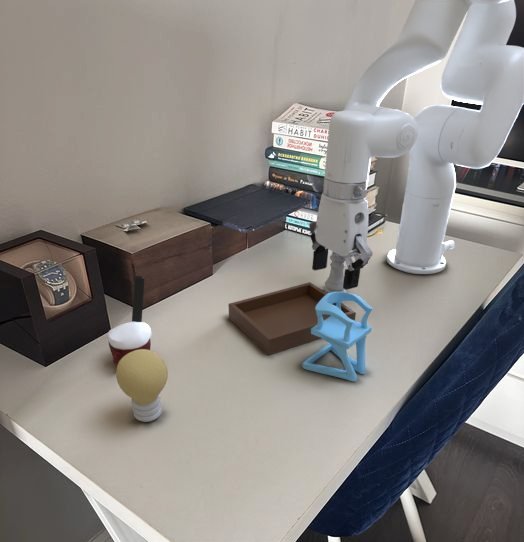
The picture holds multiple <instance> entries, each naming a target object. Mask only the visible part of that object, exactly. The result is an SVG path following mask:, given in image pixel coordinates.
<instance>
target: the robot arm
mask: <svg viewBox="0 0 524 542" xmlns="http://www.w3.org/2000/svg"><path fill="white" fill-rule="evenodd" d="M516 18H517V7H516V3H515V0H414V1H413V5H412V7H411V9H410V11H409V13H408V16H407V17H406V20H405V23H404V24H403V27H402V29H401V31H400V33H399V35H398V36H397V38H396V39H395V40H394V41H393V42H391V44H389V45H388V46H387V47H386V48H385V49H383V50H382V51H381V52H380V53H379V54H378V55H377V56H376V57H375V58H374V59H373V60H372V62H370V63H369V64H368V66H367V67H366V68H365V69H364V70H363V71H362V72H361V74H360V75H359V77H358V78H357V79H356V82H355V84H354V85H353V87H352V90H351V92H350V94H349V96H348V98H347V101H346V103H345V105H344V108H343V110H339V111H336V112H334V113H333V114H332V115H331V117H330V119H329V126H328V127H329V128H328V135H327V145H326V146H327V147H326V155H325V157H326V158H325V167H324V177H323V186H322V187H323V189H322V193H321V196H320V201H319V205H318V211H317V216H316V221H312V222H309V224H308V226H309V232H310V240H311V244H312V245H311V248H312V250H313V256H312V264H311V265H312V266H311V268H312V269H311V270H313V271H314V272H315V271H319V270H324V269H326V268H327V267H328V259H329V258H328V257H329V251H331V252H334V253H336V254H338V255H340V256H342V257H344V258H345V265H346V267H347V268H345V269H344V282H343V289H345V290H346V291H348V290H351V289H355V288H357V287H358V286H359V281H360V276H361V275H360V274H361V269H364V267H365V266H367V264H368V263H369V261H370V259H371V258H372V257H373V253H374V252H373V250H372V249H371V248H370V246H369V245H368V243H367V242H368V233H369V201H368V200H367V199H366V197H367V196H368V193H369V191H368V190H367V189H368V182H369V175H370V168H371V161H372V158H384V159H385V158H388V159H395V158H399V157H402V156H404V155H405V154H407V153H408V152H409V163H408V172H407V179H406V185H405V192H404V197H403V198H404V199H403V203H402V209H401V215H400V220H399V226H398V231H397V232H398V233H397V239H396V245H395V249H392V250H389V252H388V253H387V255H386V262H387V263H388V264H389V265H390V266H391V267H392V268H394V269H396V270H397V271H401V272H405V273H408V274H415V275H434V274H437V273H440V272H443V271H444V270H445V269H446V266H447V259H446V258H445V257H444V256H443V255H444V253H445V252H446V251H451V250H454V249H455V247H456V243H455V241H454V240H448V241H445V242H444V240H445V236H446V232H447V227H448V226H447V225H448V222H449V217H450V214H451V208H452V203H453V199H454V196H455V191H456V186H457V184H456V183H457V177H456V171H455V167H454V165H455V166H459V167H464V168H469V169H472V170H473V169H474V170H480V169H484V168H486V167H489V166H490V165H491V163H493V162H494V160H495V159H496V158H497V157H498V155H499V154H500V152H501V150H502V148H503V147H504V144H505V143H506V141H507V138H508V136H509V134H510V132H511V130H512V128H513V127H514V123H515V122H516V119H517V118H518V116H519V113H520V111H521V109H522V107H523V105H524V47H522V46H519V45H511V44H510V45H508V44H507V43H508V41H509V40H510V36H511V33H512V31H513V29H514V26H515V23H516ZM461 25H462V27H461ZM460 27H461V29H460ZM459 29H460V31H459ZM458 32H459V33H458ZM457 34H458V35H457ZM456 36H457V38H456V40H455V37H456ZM454 40H455V43H454ZM453 43H454V45H453V47H452V49H451V52H450V55H449V57H448V59H447V61H446V64H445V66H444V69H443V71H442V75H441V78H440V90H441V92H442V94H443V95H444V96H445V97H446V98H448V99H450V100H454V101H456V102H462V103H468V104H475V105H481V107H480V109H479V110H477V109H471V108H466V107H462V106H461V107H460V106H453V105H449V104H448V105H446V104H433V105H432V104H431V105H429V106H426V107H424V108H422V109H421V110H420V111H419V112H418V113H417V114H416V115H415V116H414V117H413V115H411V114H410V113H408V112H406V111H403V110H400V109H394V108H389V107H386V106H380V104H381V102H382V101H383V99H384V98H385V97H386V95H387V94H388V93H389V92H390V90H391V89H393V88H394V86H396V85H397V84H398V83H400V82H401V81H403V80H404V79H407V78H408V77H411V76H413V75H415V74H418V73H420V72H422V71H425V70H426V69H428V68H431V67H433V66H435V65H437V64H439V63H441V62H442V61H443V60H444V59H445V58H446V57H447V55H448V52H449V51H450V48H451V46H452V44H453ZM352 257H354V261H353V259H352Z"/></svg>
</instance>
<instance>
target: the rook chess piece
mask: <svg viewBox="0 0 524 542" xmlns="http://www.w3.org/2000/svg"><path fill="white" fill-rule="evenodd" d="M331 252H332V253H331V254H330V256H329V259H330V261H331V263H330V271H329V276H328V277H327V279H326V280H325V281H324V286H323V291H324V292H326V293H327V294H328V293H331V292H346V293H347V290H345V289H343V282H344V275H345V273H344V271H345V269H344V268H345V267H346V261H345V258H344V257H342V256H340V255H338V254H336V253H334V252H333V251H331Z"/></svg>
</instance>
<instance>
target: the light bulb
mask: <svg viewBox="0 0 524 542" xmlns="http://www.w3.org/2000/svg"><path fill="white" fill-rule="evenodd" d="M115 375H116V376H115V377H116V381H117V384H118V387H119V389H121V391H122V392H123V393H124V394H125V395H126V396H128V397H129V398H130V399H131V407H132V412H133V416H134V418H135V419H136V420H137V421H140V422H145V423H147V422H153V421H155V420H157V419H158V418H159V417H160V416H161V414H162V412H163V409H162V401H161V395H160V393H162V391H163V390H164V388H165V387H166V385H167V381H168V379H169V370H168V366H167V363H166V362H165V360H164V359H163V357H162V356H161V355H160V354H158V353H157V352H155V351H153V350H151V349H150V350H146V349H139V350H135V351H132V352H130V353H128V354H127V355H125V356H124V357H123V358H122V359H121V360H120V361H119V363H118V365H117V366H116V372H115Z"/></svg>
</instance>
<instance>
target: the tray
mask: <svg viewBox="0 0 524 542" xmlns="http://www.w3.org/2000/svg"><path fill="white" fill-rule="evenodd" d="M326 294H328V293H327V292H326V291H325V290H324V289H321V288H320V287H319V286H316V285H315V284H314V283H312V282H310V281H309V282H305V283H301V284H298V285H294V286H290V287H286V288H282V289H279V290H275V291H271V292H267V293H264V294H259V295H257V296H252V297H249V298H245V299H241V300H238V301H233V302H230V303H228V319H229V320H230V321H231V322H232V323H233V324H234V325H235V326H236V327H237V328H238V329H240V330H241V331H242V332H243V333H244V334H245V335H246V336H247V337H248V338H249V339H251V341H253V342H254V343H255V344H256V345H257V346H258V347H259V348H260V349H261V350H262V351H263V352H264V353H266V355H268V356H271V355H275V354H276V353H280V352H283V351H286V350H289V349H291V348H295V347H298V346H301V345H304V344H307V343H310V342H313V341H316V340H319V339H322V338H321V337H318V336H316V335H313V334H311V328H313V327H314V326H316V325H317V324H318V317H317V314H316V309H315V307H316V305H317V304H318V303H319V301H320V300H321V299H322V298H323V297H324V296H325V295H326ZM332 305H335V306H336V303H333V304H332ZM341 311H342V312H343V313H344V314H345V315H346V316H347V317H348V318H350V319H352V320H354V321H356V315H357V312H356V311H355V310H353V309H351V308H350V307H349V306H347V305H345V304H344V303H343V302H341ZM321 315H322V317H323V321H325V320H326V319H327V318H329V317H330V316H331V315H327V314H321Z"/></svg>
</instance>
